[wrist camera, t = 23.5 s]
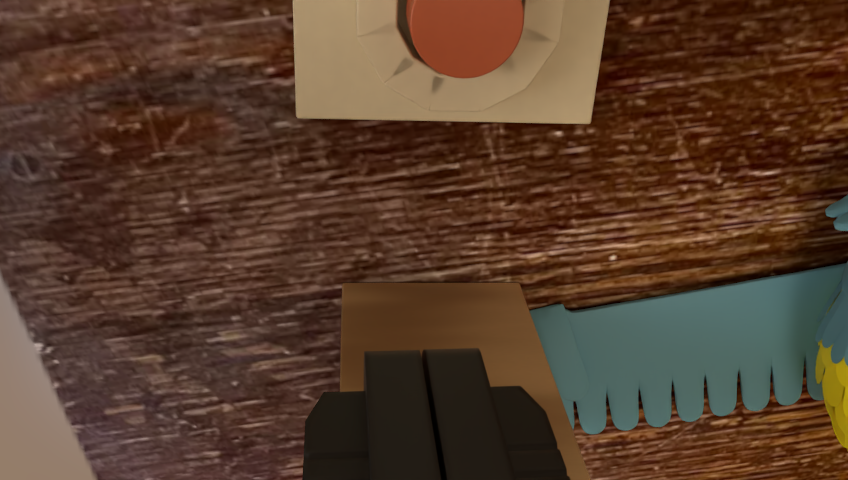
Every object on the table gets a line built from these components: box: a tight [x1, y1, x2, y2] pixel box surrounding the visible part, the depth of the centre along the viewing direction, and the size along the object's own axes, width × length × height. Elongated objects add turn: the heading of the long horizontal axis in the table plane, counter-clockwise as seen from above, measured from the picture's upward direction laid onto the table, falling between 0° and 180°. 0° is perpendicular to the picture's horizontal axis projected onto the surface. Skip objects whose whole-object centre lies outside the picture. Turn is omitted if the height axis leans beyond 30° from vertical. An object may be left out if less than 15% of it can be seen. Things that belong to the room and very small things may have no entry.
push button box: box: [293, 0, 610, 124], centre depth 24 cm, size 10×8×3 cm
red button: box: [406, 0, 524, 79], centre depth 22 cm, size 3×3×2 cm
